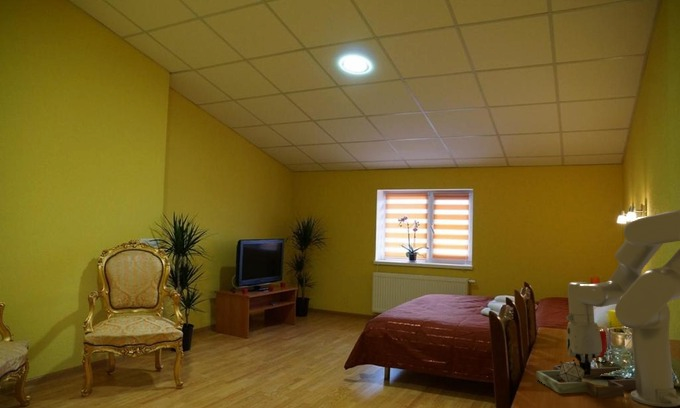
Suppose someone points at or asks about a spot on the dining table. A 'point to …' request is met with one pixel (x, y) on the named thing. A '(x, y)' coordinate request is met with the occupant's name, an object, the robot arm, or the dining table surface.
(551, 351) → the dining table surface
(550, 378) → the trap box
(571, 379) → the game die
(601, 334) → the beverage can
